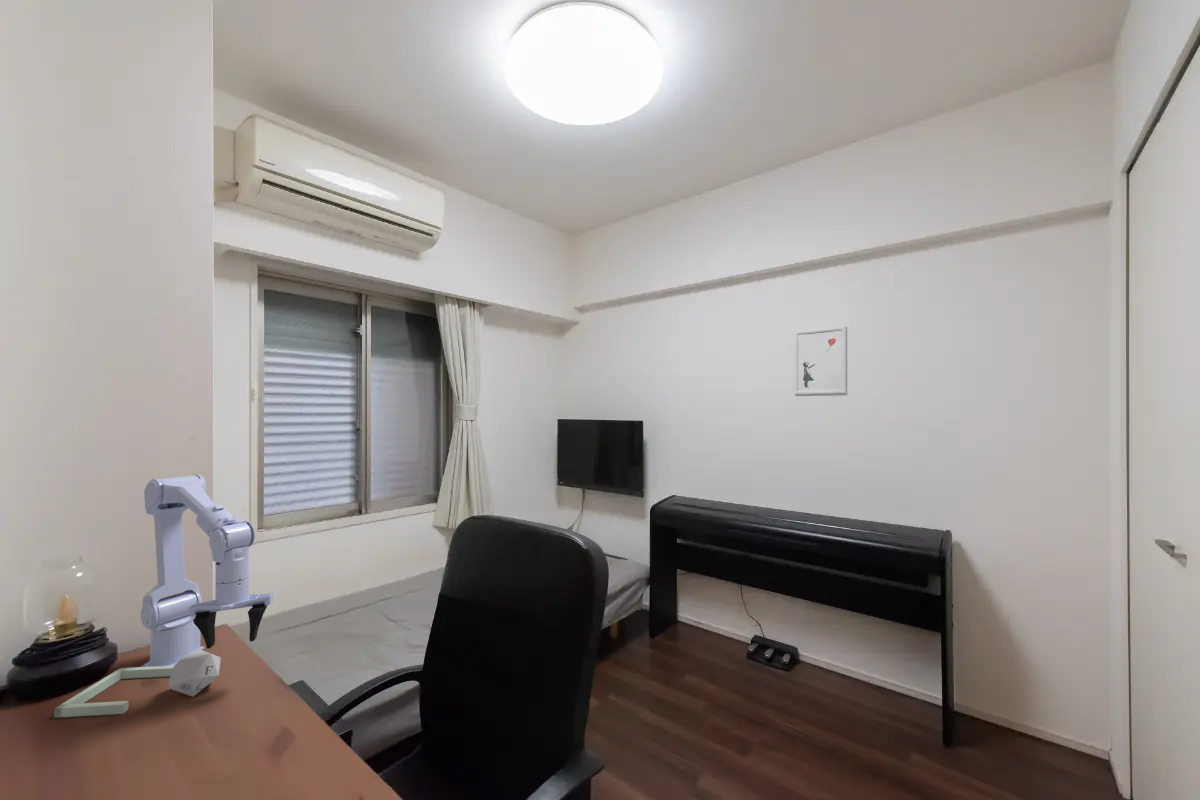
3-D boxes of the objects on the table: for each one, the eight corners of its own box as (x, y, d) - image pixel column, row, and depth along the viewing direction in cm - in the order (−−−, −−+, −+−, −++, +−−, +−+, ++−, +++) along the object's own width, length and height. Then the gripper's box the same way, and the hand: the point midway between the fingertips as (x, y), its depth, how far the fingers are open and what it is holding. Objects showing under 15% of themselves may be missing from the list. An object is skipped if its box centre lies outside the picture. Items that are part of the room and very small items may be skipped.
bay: (119, 676, 106) (120, 668, 106) (178, 673, 107) (178, 665, 107) (54, 717, 92) (54, 708, 92) (122, 713, 93) (123, 704, 93)
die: (161, 710, 95) (193, 671, 96) (154, 676, 100) (184, 639, 101) (205, 704, 102) (235, 667, 103) (196, 672, 107) (225, 637, 108)
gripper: (182, 590, 97) (181, 658, 96) (265, 580, 102) (265, 644, 101) (197, 580, 103) (197, 643, 103) (275, 570, 108) (275, 630, 108)
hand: (232, 642), depth 102 cm, fingers open, 7 cm apart
